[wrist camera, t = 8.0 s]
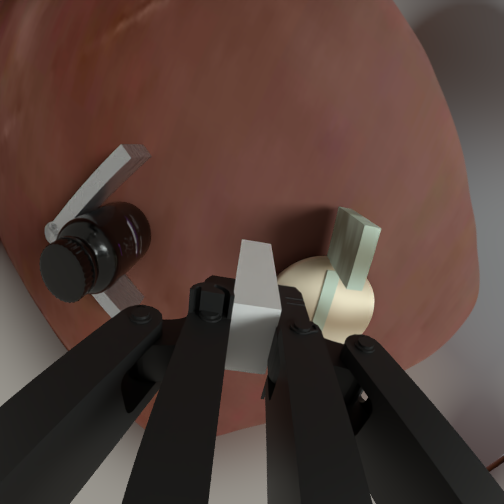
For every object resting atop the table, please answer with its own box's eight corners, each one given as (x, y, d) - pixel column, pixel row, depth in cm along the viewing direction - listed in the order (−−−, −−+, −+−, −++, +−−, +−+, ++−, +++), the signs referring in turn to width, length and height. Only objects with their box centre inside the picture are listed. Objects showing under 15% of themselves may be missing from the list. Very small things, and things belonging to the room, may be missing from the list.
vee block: (73, 142, 25) (45, 144, 20) (153, 145, 25) (132, 144, 21) (74, 288, 31) (54, 307, 26) (144, 305, 31) (129, 328, 27)
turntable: (284, 195, 26) (294, 210, 19) (397, 220, 26) (433, 240, 20) (254, 344, 31) (253, 388, 25) (350, 353, 32) (366, 393, 25)
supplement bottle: (165, 229, 28) (113, 278, 17) (131, 272, 30) (78, 331, 19) (119, 186, 27) (47, 211, 15) (89, 232, 28) (22, 274, 17)
